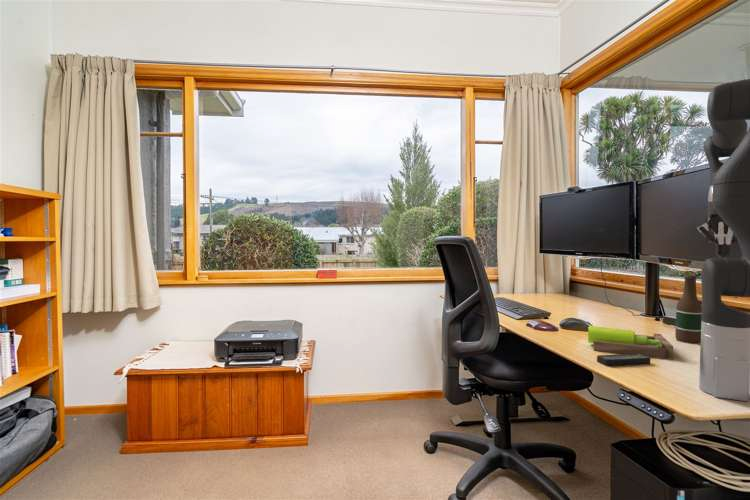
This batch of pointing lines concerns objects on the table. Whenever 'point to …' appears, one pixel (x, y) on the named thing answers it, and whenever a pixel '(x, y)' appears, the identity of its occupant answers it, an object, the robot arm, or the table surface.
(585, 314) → the table surface
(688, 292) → the beer bottle
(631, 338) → the soap dispenser
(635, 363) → the multiport hub
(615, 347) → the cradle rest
